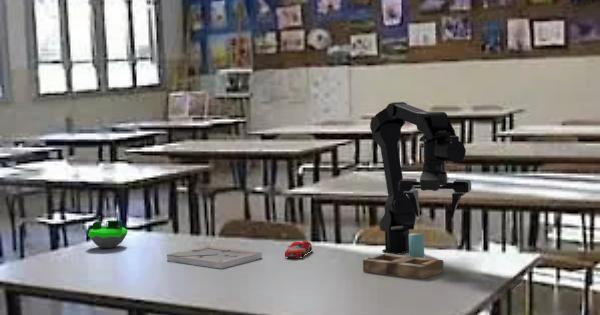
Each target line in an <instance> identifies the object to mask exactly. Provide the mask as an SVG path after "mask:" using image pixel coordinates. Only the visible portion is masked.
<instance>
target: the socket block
mask: <svg viewBox="0 0 600 315" xmlns="http://www.w3.org/2000/svg"><path fill="white" fill-rule="evenodd" d="M362 272H364V273H365V272H366V273H373V274H381V275H390V276H396V277H398V276H399V277H404V278H405V277H406V278H412V279H421V280H424V279H427V278H430V277H432V276H435V275H437V274H441V273H443V272H444V260H443V259H439V258H438V259H437V258H436V259H435V258H427V257H424V258H420V257H411V256H409V255H402V254H395V253H386V252H384V253H379V254H378V253H377V254H375V255H374V254H373V255H372V256H369V257H367V258H365V259H362Z"/></svg>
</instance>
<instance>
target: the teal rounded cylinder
mask: <svg viewBox="0 0 600 315" xmlns="http://www.w3.org/2000/svg"><path fill="white" fill-rule="evenodd" d="M424 235H425V234H424V233H421V232H413V233H412V232H411V233H409V251H408V252H409V253H408V256H411V257H420V258H425V236H424Z"/></svg>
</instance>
